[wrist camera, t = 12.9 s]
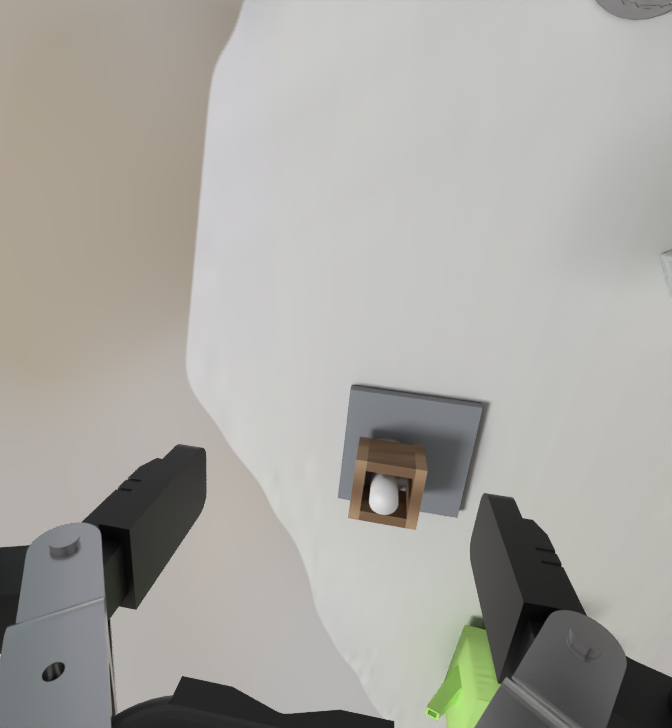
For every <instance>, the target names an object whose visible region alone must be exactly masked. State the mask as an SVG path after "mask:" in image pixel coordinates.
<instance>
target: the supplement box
mask: <svg viewBox="0 0 672 728" xmlns="http://www.w3.org/2000/svg"><path fill="white" fill-rule="evenodd" d="M660 256H661V260H662V265H663V269H664V273H665V277H666V281H667V285H668V289H669V293H670V297H671V301H672V250H671V251H668V252H665V253H662V254H661V255H660Z"/></svg>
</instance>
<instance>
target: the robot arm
mask: <svg viewBox="0 0 672 728" xmlns="http://www.w3.org/2000/svg"><path fill="white" fill-rule="evenodd" d="M596 1H597V3H598V4H599V5H600V6H602V7H603V8H604V9H605V10H606V11H607V12H609V13H611V14H613V15H615V16H618V17H620V18H626V19H631V20H637V19H648V18H652V17H655V16H658V15H662V14H664V13H666V12H668V11H670V10H671V9H672V0H596ZM205 499H206V452H205V449H204V448H200V447H194V446H188V445H181V444H178V445H176V446H175V447H174V448H173V449H172V450H171V451H170V452H169V453H168V454H167V455H166V456H165V457H164V458H163V459H159V458H156V459H154V460H152V461H150V462H148V463H146V464H145V465H142V466H140V467H139V468H138V469H137V470H136V471H135V472H134V473H133V474H132V475H131V476H130V477H129V478H128V480H125V481H124V482H123V483H122V484H121V485H120V486H119V487H118V490H115V491H114V492H113V493H112V494H111V495H110V496H109V497H107V498H106V499H105V500H104V501H103V502H102V503H101V504H100V505H99V506H98V507H97V508H96V509H95V510H94V511H93V512H92V513H91V514H90V515H89V516H88V517H87V518H86V519H84V520H83V521H82V522H81V523H70V524H65V525H61V526H58V527H56V528H53V529H51V530H49V531H47V532H45V533H43V534H42V535H41V536H39V537H38V538H37V539H36V540H34V541H33V542H32V544H31V545H28V546H16V547H1V548H0V654H1V657H0V728H394V721H391V720H386V719H381V718H376V717H372V716H367V715H362V714H358V713H353V712H348V711H343V710H331V711H318V712H306V713H294V714H282V713H279V712H277V711H275V710H273V709H271V708H269V707H268V706H266V705H264V704H262V703H260V702H259V701H257V700H255V699H253V698H252V697H250V696H248V695H246V694H244V693H243V692H241V691H239V690H237V689H235V688H234V687H230V686H226V685H221V684H217V683H212V682H208V681H203V680H198V679H193V678H188V677H184V676H182V678H181V680H180V682H179V684H178V686H177V688H176V690H175V692H174V695H173V696H164V697H160V698H155V699H151V700H148V701H145V702H142V703H139V704H137V705H134V706H132V707H130V708H128V709H126V710H124V711H122V712H121V713H119V714H118V711H117V701H116V687H115V673H114V659H113V645H112V631H111V620H110V618H111V616H112V615H113V613H114V612H115V611H116V609H117V608H118V607H119V606H121V607H126V608H130V609H137V608H138V606H139V605H140V603H141V602H142V600H143V599H144V597H145V596H146V594H147V593H148V591H149V590H150V588H151V587H152V585H153V584H154V582H155V581H156V579H157V578H158V576H159V575H160V573H161V572H162V570H163V569H164V567H165V566H166V564H167V563H168V561H169V560H170V558H171V557H172V556H173V554H174V553H175V551H176V550H177V548H178V547H179V545H180V544H181V542H182V541H183V539H184V538H185V536H186V535H187V533H188V532H189V530H190V529H191V527H192V526H193V524H194V522H195V521H196V520H197V518H198V517H199V515H200V514H201V511H202V509H203V507H204V503H205ZM470 560H471V566H472V570H473V575H474V579H475V584H476V588H477V593H478V597H479V602H480V606H481V610H482V615H483V619H484V624H485V628H486V633H487V637H488V642H489V646H490V651H491V655H492V660H493V664H494V669H495V673H496V678H497V682H498V684H501V685H500V687H499V688H498V690H497V692H496V693H495V695H494V696H493V698H492V700H491V701H490V703H489V705H488V706H487V708H486V709H485V711H484V713H483V714H482V716H481V718H480V719H479V721H478V722H477V724H476V726H475V727H474V728H672V677H670V676H667V675H665V674H663V673H661V672H658V671H656V670H654V669H652V668H649V667H647V666H645V665H643V664H640V663H638V662H636V661H634V660H632V659H630V658H628V657H627V656H625V653H624V651H623V649H622V647H621V645H620V644H619V642H618V641H617V640H616V639H615V637H614V636H613V635H612V634H611V633H610V632H609V631H608V630H607V629H606V628H604V627H603V626H602V625H601V624H599V623H598V622H596V621H595V620H593V619H591V618H590V617H588V616H587V615H586V613H585V611H584V609H583V607H582V605H581V603H580V601H579V599H578V597H577V595H576V593H575V591H574V588H573V586H572V584H571V582H570V580H569V578H568V576H567V574H566V572H565V570H564V568H563V567H561V562H560V560H559V558H558V556H557V554H555V550H554V548H553V545H552V543H551V541H550V539H549V537H548V535H547V534H546V533H545V532H544V531H543V530H542V529H541V528H540V527H539V526H538V525H537V524H536V523H535V522H534V521H533V520H530V519H524V518H522V516H521V514H520V511H519V509H518V507H517V504H516V502H515V500H514V499H513V498H512V497H506V496H499V495H493V494H487V493H484V494H483V495H482V498H481V501H480V505H479V509H478V513H477V517H476V521H475V525H474V529H473V533H472V537H471V543H470Z"/></svg>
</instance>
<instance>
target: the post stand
mask: <svg viewBox="0 0 672 728" xmlns="http://www.w3.org/2000/svg"><path fill="white" fill-rule="evenodd" d="M482 409H483V408H482V406H481V403H476V402H468V401H461V400H454V399H447V398H440V397H432V396H425V395H418V394H411V393H404V392H397V391H389V390H382V389H375V388H368V387H361V386H353V385H352V386H351V390H350V399H349V407H348V416H347V425H346V433H345V442H344V450H343V459H342V468H341V476H340V485H339V493H338V498H341V499H347V500H351V493H352V486H353V479H354V472H355V464H356V458H357V451H358V445H359V439H360V437H367V438H373V439H379V440H386V441H392V442H398V443H405V444H411V445H418V446H424V448H425V455H426V462H427V470H428V472H427V477H426V482H425V487H424V492H423V497H422V502H421V506H420V512H426V513H432V514H438V515H444V516H450V517H456V518H457V517H458V513H459V508H460V504H461V500H462V496H463V491H464V487H465V483H466V478H467V474H468V470H469V465H470V461H471V457H472V452H473V448H474V444H475V439H476V435H477V431H478V426H479V422H480V418H481V413H482ZM407 481H408V478H405V477H399V476H393V475H387V474H381V473H375V472H369V471H366V473H365V480H364V484H367V485H371V486H370V497H369V505H370V507H371V509H372V510H373V511H374V512H376V513H378V514H381V515H388V514H391V513H393V512H394V511H396V509H397V507H398V490H403V491H406V486H407Z"/></svg>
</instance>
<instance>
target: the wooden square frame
mask: <svg viewBox="0 0 672 728" xmlns="http://www.w3.org/2000/svg"><path fill="white" fill-rule="evenodd" d="M366 471H369V472H375V473H381V474H387V475H393V476H399V477H405V478H408V481H407V486H406V491H403V490H398V507H397V509H396V511H394V512H393V513H391V514H388V515H381V514H378V513H376V512H374V511H373V510H372V509H371V507H370V505H369V497H370V486H371V485H367V484H364V480H365V473H366ZM427 472H428V470H427V462H426V455H425V448H424V446H418V445H411V444H405V443H398V442H392V441H386V440H379V439H373V438H367V437H360V439H359V445H358V451H357V458H356V464H355V472H354V479H353V486H352V493H351V501H350V508H349V515H348V518H351V519H357V520H363V521H368V522H374V523H380V524H385V525H391V526H397V527H402V528H408V529H414V530H416V526H417V521H418V516H419V511H420V506H421V502H422V497H423V492H424V487H425V482H426V477H427Z"/></svg>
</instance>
